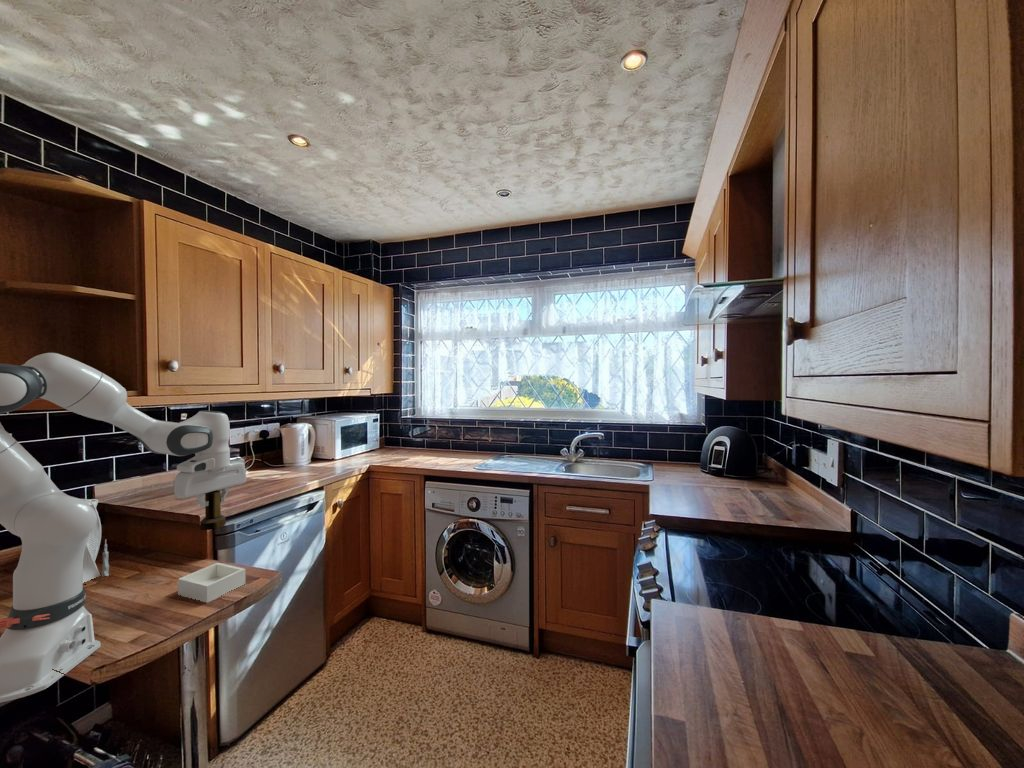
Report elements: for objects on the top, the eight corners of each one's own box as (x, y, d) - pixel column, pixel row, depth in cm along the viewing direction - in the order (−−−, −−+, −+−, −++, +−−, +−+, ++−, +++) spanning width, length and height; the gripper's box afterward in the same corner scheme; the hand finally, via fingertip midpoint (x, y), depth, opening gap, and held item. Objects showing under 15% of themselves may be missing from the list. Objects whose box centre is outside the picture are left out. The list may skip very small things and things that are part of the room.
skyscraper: (80, 588, 129) (80, 500, 129) (60, 585, 131) (60, 499, 130) (110, 575, 138) (111, 493, 137) (91, 573, 139) (91, 492, 139)
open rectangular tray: (207, 603, 121) (207, 586, 121) (178, 594, 125) (178, 578, 125) (245, 584, 132) (245, 568, 132) (217, 577, 137) (217, 562, 137)
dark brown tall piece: (204, 524, 131) (204, 468, 130) (228, 521, 133) (228, 467, 133) (196, 531, 124) (196, 473, 124) (222, 528, 127) (222, 471, 127)
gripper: (237, 454, 139) (237, 494, 140) (170, 466, 120) (170, 513, 120) (250, 456, 137) (250, 496, 137) (185, 468, 118) (184, 515, 118)
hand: (212, 504), depth 129 cm, fingers closed on dark brown tall piece, 4 cm apart
